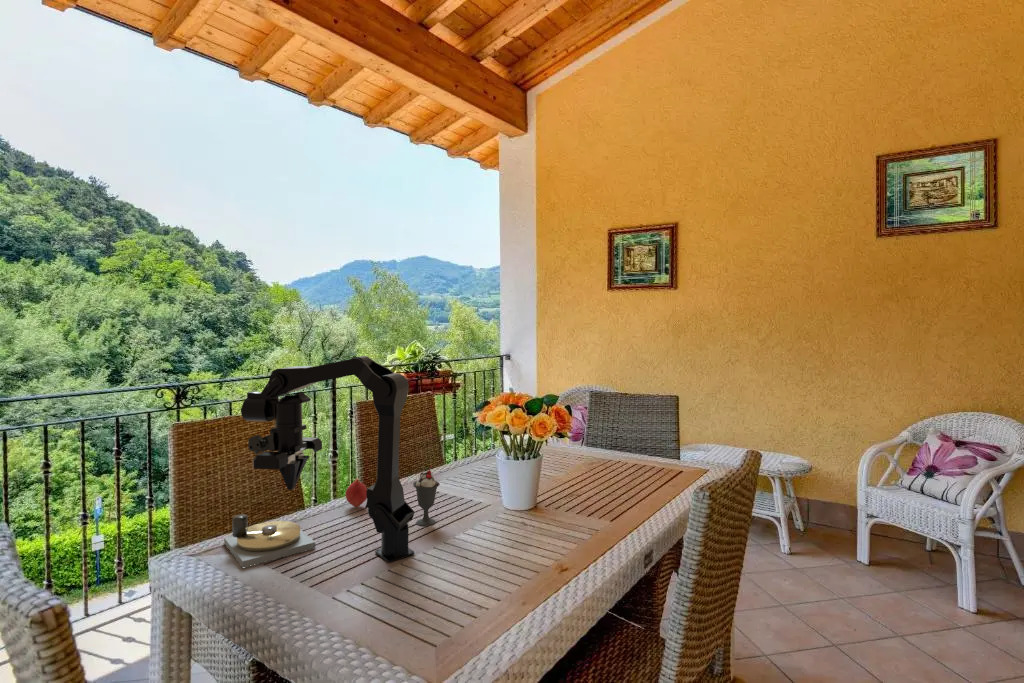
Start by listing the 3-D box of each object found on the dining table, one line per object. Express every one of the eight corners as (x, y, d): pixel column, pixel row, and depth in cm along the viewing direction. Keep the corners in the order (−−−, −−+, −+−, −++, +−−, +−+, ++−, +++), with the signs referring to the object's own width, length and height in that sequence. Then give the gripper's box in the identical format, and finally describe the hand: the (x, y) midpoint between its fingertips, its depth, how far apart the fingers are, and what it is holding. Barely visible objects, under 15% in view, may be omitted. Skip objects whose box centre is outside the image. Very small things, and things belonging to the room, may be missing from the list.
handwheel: (275, 523, 129) (275, 500, 129) (312, 534, 123) (312, 511, 122) (224, 542, 118) (224, 518, 117) (262, 556, 111) (262, 530, 111)
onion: (340, 508, 144) (341, 479, 144) (356, 502, 149) (356, 474, 149) (356, 512, 142) (357, 483, 141) (372, 506, 147) (372, 477, 146)
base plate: (315, 548, 119) (315, 542, 119) (242, 568, 110) (242, 561, 109) (291, 527, 131) (291, 521, 131) (224, 544, 121) (224, 537, 121)
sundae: (434, 528, 132) (434, 469, 131) (408, 526, 133) (409, 467, 132) (442, 519, 138) (443, 462, 138) (418, 516, 140) (419, 460, 139)
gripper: (280, 414, 132) (282, 476, 133) (229, 429, 114) (231, 501, 114) (322, 415, 130) (324, 478, 131) (276, 430, 112) (278, 503, 112)
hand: (290, 489), depth 122 cm, fingers closed
